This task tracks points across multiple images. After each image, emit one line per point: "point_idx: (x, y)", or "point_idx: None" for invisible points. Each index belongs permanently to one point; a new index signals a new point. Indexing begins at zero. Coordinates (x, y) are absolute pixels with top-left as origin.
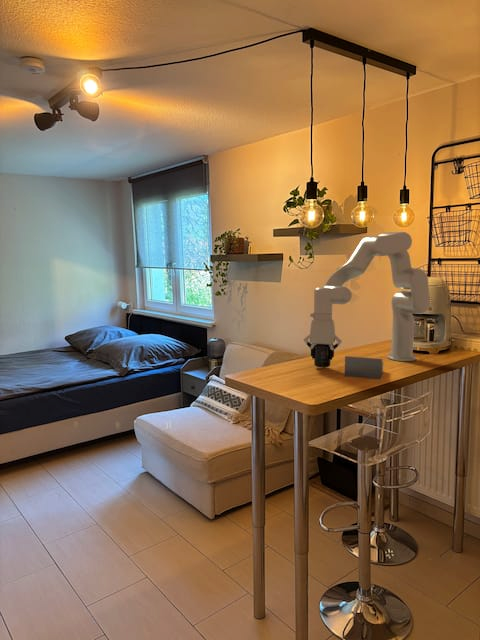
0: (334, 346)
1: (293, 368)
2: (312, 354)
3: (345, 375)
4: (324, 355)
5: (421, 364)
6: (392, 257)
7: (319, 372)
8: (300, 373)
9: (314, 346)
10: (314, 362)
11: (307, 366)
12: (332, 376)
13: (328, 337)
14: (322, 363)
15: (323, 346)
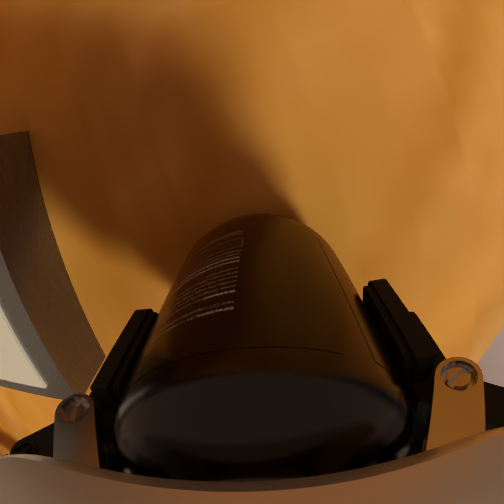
0: (51, 448)
1: (479, 163)
2: (397, 304)
3: (19, 134)
4: (187, 291)
5: (11, 442)
6: None
7: (233, 119)
8: (379, 11)
9: (415, 420)
10: (340, 262)
11: (397, 282)
12: (89, 61)
13: None
14: (227, 228)
15: (174, 423)
